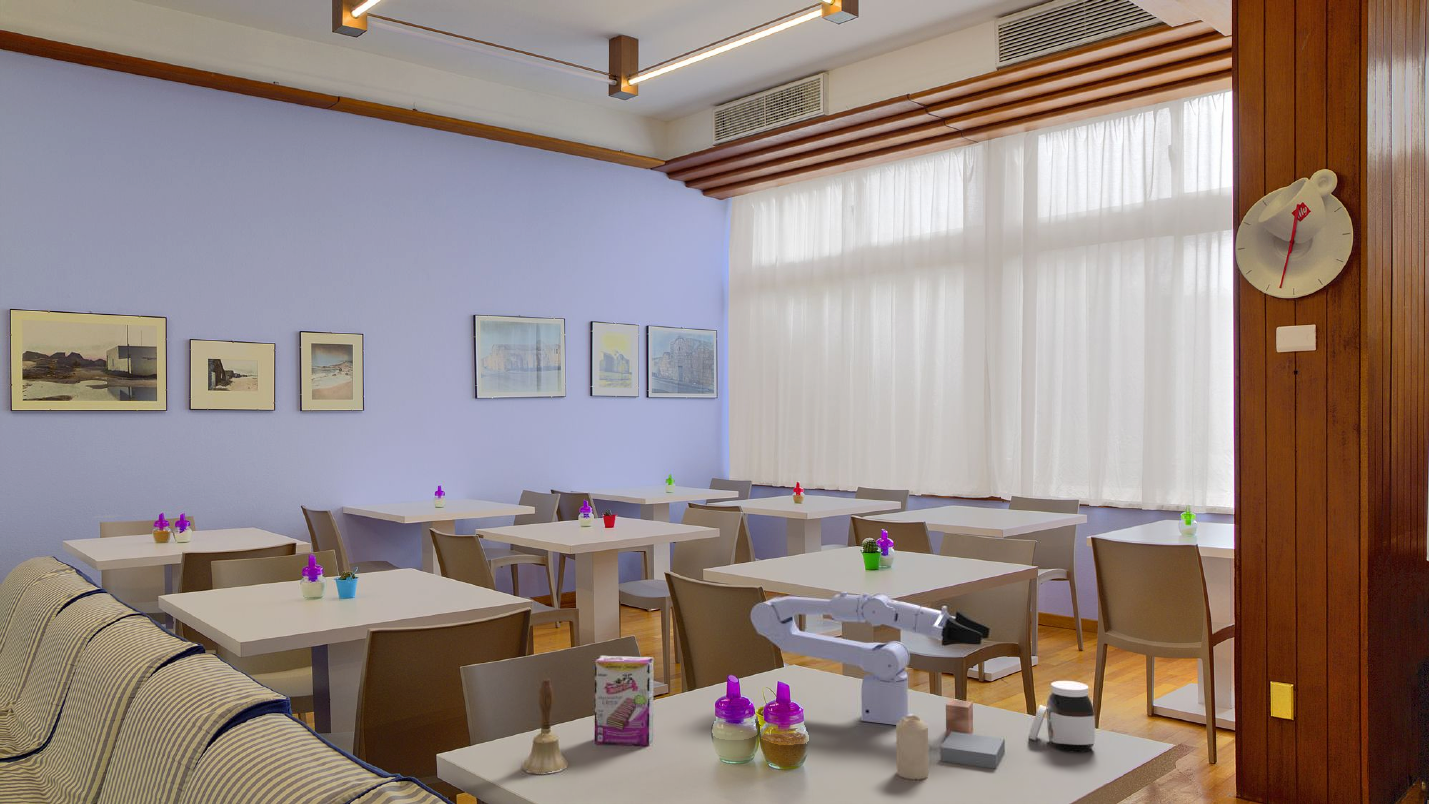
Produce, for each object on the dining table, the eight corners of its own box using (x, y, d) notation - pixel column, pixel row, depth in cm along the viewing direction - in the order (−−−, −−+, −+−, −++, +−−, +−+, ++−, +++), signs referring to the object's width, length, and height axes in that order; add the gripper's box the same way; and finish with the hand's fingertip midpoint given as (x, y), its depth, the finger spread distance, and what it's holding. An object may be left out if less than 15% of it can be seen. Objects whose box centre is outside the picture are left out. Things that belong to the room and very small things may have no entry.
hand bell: (576, 762, 175) (576, 675, 176) (553, 777, 167) (553, 686, 168) (537, 757, 178) (537, 671, 178) (513, 771, 170) (513, 682, 171)
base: (940, 760, 174) (940, 747, 174) (951, 744, 183) (951, 731, 183) (996, 768, 170) (995, 754, 170) (1004, 751, 179) (1004, 738, 179)
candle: (928, 781, 164) (928, 723, 165) (896, 778, 165) (896, 721, 166) (928, 770, 170) (927, 713, 170) (897, 768, 171) (896, 712, 171)
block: (946, 735, 189) (945, 704, 190) (950, 728, 194) (950, 699, 194) (968, 737, 188) (968, 707, 188) (973, 731, 192) (972, 701, 192)
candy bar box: (593, 745, 184) (593, 660, 185) (599, 737, 189) (599, 654, 190) (650, 746, 183) (649, 661, 184) (654, 738, 188) (654, 655, 189)
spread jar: (1101, 754, 177) (1099, 692, 178) (1040, 754, 177) (1039, 692, 178) (1077, 734, 189) (1076, 676, 190) (1021, 734, 189) (1020, 676, 190)
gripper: (913, 605, 191) (980, 622, 185) (931, 596, 204) (994, 611, 198) (908, 640, 191) (975, 657, 185) (926, 628, 204) (989, 644, 198)
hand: (985, 636), depth 191 cm, fingers open, 7 cm apart
